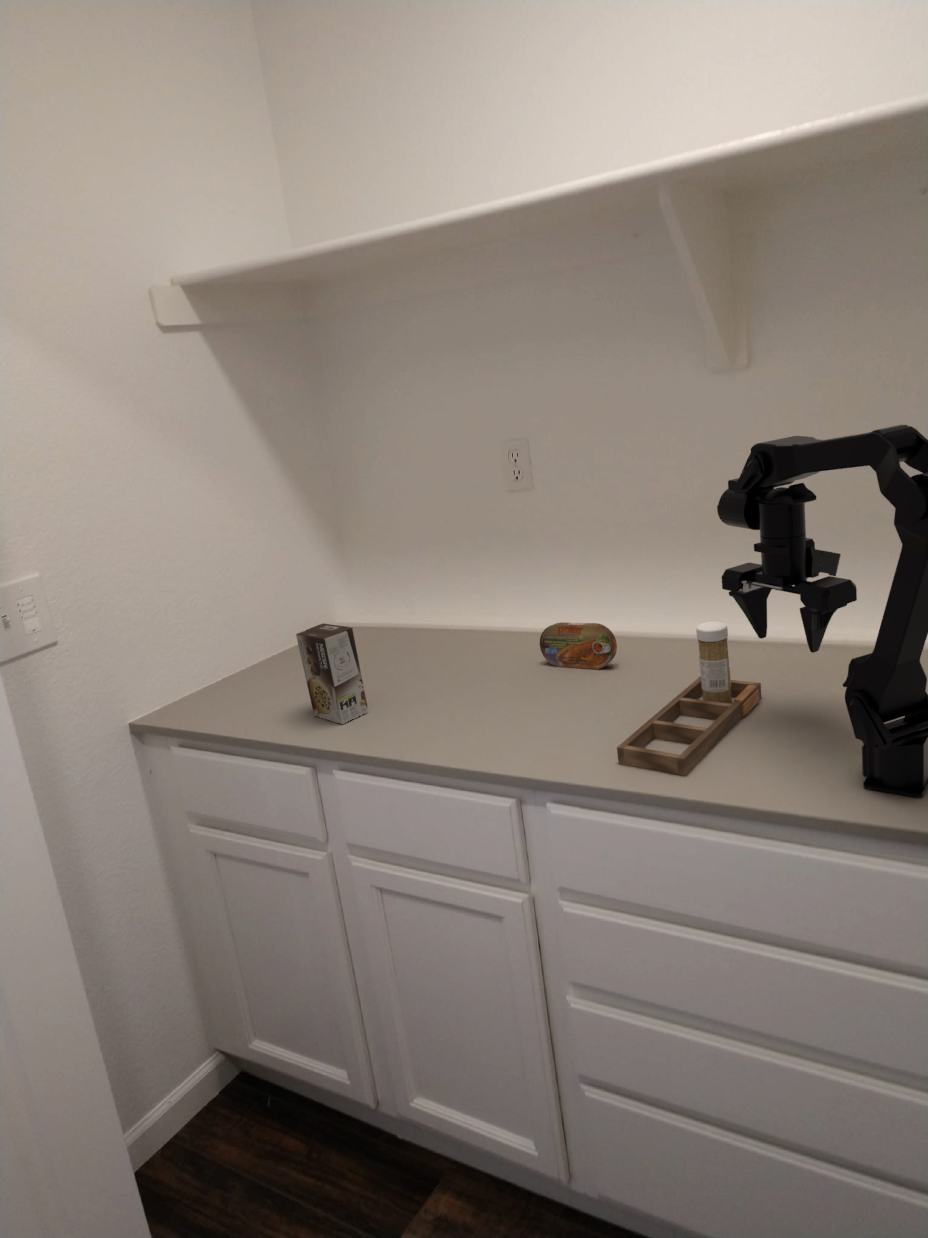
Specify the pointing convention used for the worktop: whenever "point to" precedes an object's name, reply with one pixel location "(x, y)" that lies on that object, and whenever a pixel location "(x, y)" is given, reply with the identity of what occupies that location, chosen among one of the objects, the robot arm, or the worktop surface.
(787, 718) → the worktop surface
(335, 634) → the coffee box
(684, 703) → the rack
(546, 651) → the tin
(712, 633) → the sprinkles bottle
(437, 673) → the worktop surface
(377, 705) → the worktop surface
